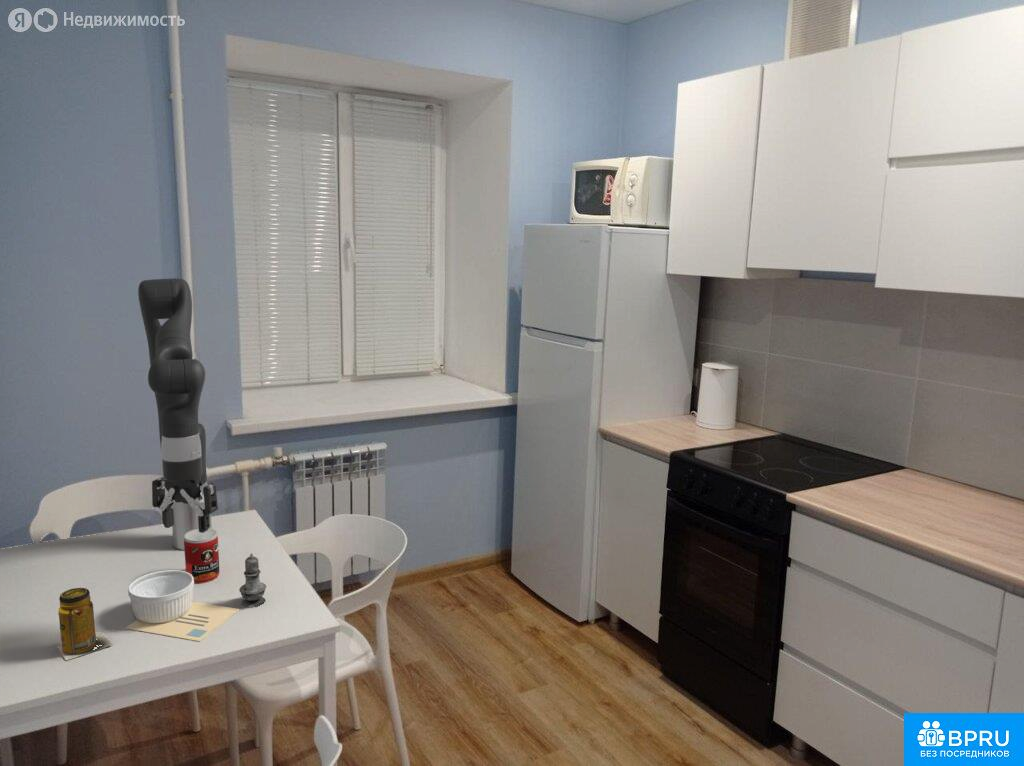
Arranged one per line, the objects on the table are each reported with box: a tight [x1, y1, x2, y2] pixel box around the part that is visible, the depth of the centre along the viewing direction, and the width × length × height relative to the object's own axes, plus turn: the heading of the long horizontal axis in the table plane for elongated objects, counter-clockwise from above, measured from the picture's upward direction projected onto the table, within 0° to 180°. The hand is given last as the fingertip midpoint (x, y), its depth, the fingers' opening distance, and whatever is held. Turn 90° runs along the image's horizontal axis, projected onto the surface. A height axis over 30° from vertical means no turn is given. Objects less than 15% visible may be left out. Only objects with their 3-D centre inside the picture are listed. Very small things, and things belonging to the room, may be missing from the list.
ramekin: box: [127, 569, 195, 623], centre depth 166 cm, size 13×13×7 cm
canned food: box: [184, 528, 220, 584], centre depth 184 cm, size 8×8×11 cm
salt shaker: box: [238, 553, 267, 609], centre depth 171 cm, size 6×6×12 cm
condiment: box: [56, 587, 113, 661], centre depth 152 cm, size 7×8×12 cm
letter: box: [125, 601, 240, 642], centre depth 164 cm, size 14×18×1 cm
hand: (186, 529), depth 159 cm, fingers open, 8 cm apart
